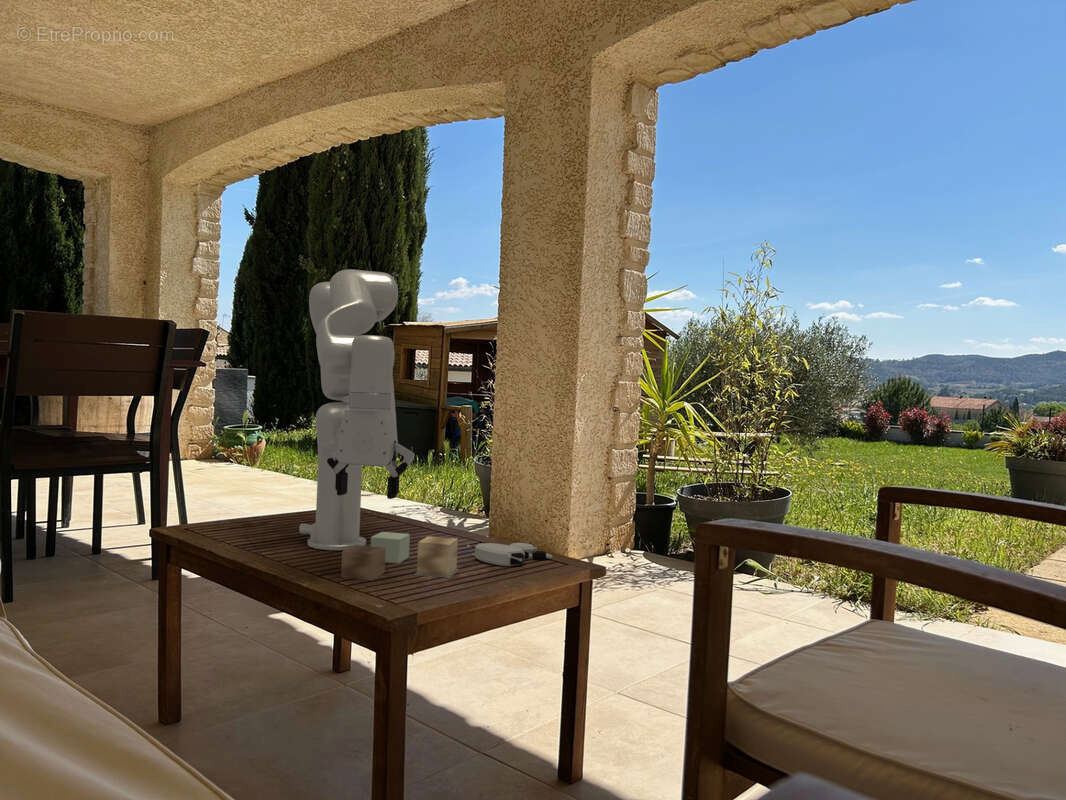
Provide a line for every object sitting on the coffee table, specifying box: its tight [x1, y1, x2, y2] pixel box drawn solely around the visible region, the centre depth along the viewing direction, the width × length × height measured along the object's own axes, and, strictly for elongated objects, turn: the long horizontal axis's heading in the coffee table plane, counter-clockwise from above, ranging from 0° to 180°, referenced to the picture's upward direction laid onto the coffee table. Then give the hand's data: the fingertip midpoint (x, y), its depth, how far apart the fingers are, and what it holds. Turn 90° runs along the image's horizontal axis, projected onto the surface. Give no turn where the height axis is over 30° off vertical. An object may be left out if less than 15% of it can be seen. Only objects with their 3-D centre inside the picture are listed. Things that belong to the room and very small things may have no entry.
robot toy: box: [466, 542, 553, 567], centre depth 165 cm, size 12×4×15 cm
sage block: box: [370, 531, 411, 564], centre depth 160 cm, size 6×6×6 cm
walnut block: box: [340, 545, 386, 581], centre depth 146 cm, size 6×6×6 cm
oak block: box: [416, 535, 459, 578], centre depth 151 cm, size 6×6×6 cm
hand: (366, 496), depth 146 cm, fingers open, 9 cm apart
